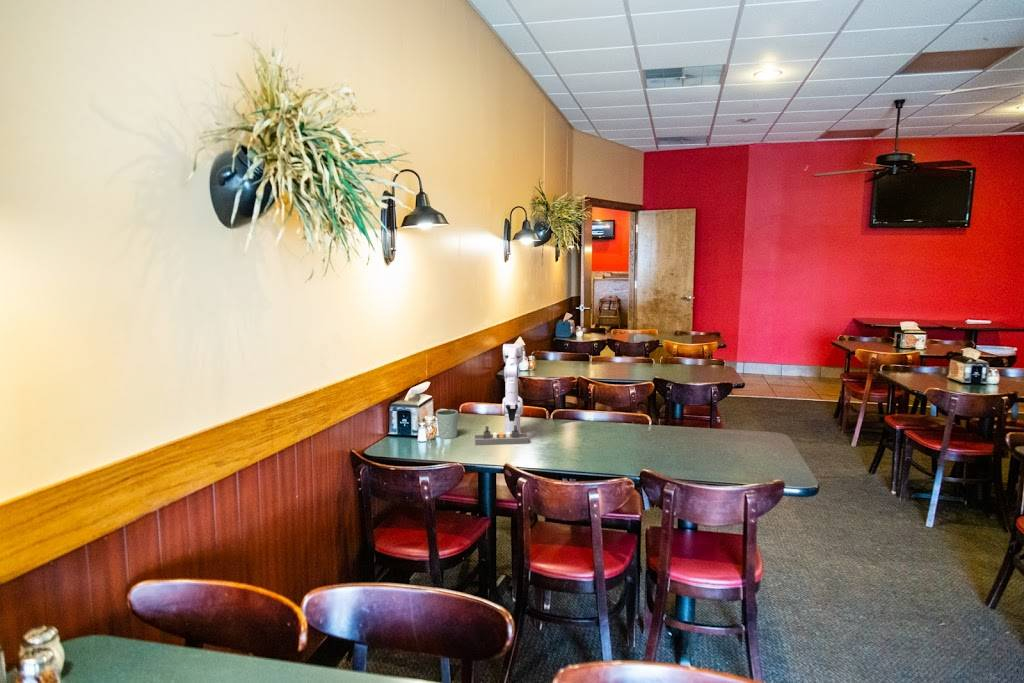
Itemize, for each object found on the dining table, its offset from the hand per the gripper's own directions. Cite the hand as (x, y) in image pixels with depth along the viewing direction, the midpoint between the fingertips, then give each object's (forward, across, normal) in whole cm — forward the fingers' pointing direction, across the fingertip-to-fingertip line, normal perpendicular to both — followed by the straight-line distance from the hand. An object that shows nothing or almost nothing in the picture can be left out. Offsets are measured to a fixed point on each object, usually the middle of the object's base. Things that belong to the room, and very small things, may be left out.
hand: (511, 420), depth 280 cm
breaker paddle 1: (+8, 0, -8) cm, 11 cm away
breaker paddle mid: (+8, 0, -5) cm, 9 cm away
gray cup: (+10, -12, -30) cm, 33 cm away
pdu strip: (+10, 0, -5) cm, 11 cm away
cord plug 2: (+8, -1, +2) cm, 8 cm away
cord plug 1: (+8, 0, -11) cm, 14 cm away
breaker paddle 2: (+8, -1, -2) cm, 8 cm away
